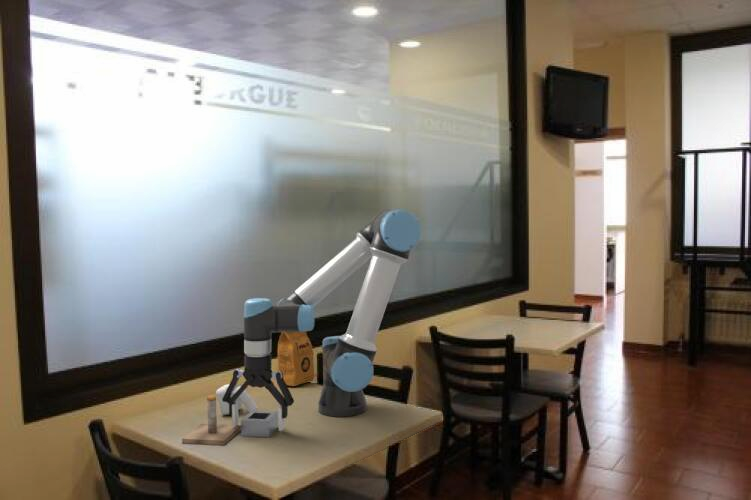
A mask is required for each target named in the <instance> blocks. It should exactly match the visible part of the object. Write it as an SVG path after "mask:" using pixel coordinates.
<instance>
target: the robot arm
mask: <svg viewBox="0 0 751 500" xmlns="http://www.w3.org/2000/svg"><path fill="white" fill-rule="evenodd" d="M421 235H422V228H421V224H420V222H419V219H418V218H417V217H416V216H415V215H414V214H413V213H412V212H410V211H407V210H405V209H400V208H396V209H386V210H382V211H381V212H378V214H376V215H375V216H374V217H373V218H371V220H369V221H368V223H366V225H364V226H363V227H362V228H361V229H360V230H359V231H358V232H357V233H356V237H355V239H353V241H351V242H350V243H348V245H347V246H345V247H344V248H343V249H341V250H340V252H338V253H337V254H336V255H335V256H333V258H332V259H330V260H329V261H328V262H327V263H326V264H324V266H322V267H321V268H320V269H319V270H317V271H316V272H315V273H314V274H313V275H311V276H310V277H309V278H308V279H307V280H305V281H304V282H303V283H302V284H301V285H299V287H297V288H296V289H295V290H294V291H293V292H291V294H288V296H286V297H284V298H282V299H280V300H279V302H277V305H273V303H272V301H271V299H269V298H263V297H262V298H261V297H255V298H249V299H247V300H246V301H245V302H244V309H243V311H244V312H243V332H244V333H243V337H244V339H243V340H244V341H243V346H244V347H243V352H244V354H245V355H244V357H243V359H244V360H243V362H244V364H243V366H244V369H243V370H241V368H236V369H235V370H234V371H233V373H232V379H231V381H230V383H228V384H229V386H228V388H227V391H226V393H225V395H224V397H223V399H222V401H223V402H227V403H229V414H228V415H230V416H231V418H232V419H231V425H232V427H233V428H235V427H236V426H237V425H240V424H239V410H238V402H235V401H236V399H237V398H238V397H239V396H240V395H241V394H242V393H243V391H244V390H246V389H247V388H248V387H249V386H250V387H251V388H259V389H261V388H263V387H264V388H265V389H266V391H267V390H268V392H269V393H270V394H271V395H272V397H273V398H274V400H276V402H277V403H278V404H279V405H280V406H279V407H278V431H279V432H282V431H283V430H284V429H285V419H287V417H288V411H289V410H288V407H290V406H292V405H293V404H294V402H295V399H294V398H293V395H292V393H291V391H290V389H289V387H288V385H286V383H285V381H284V379H283V372H282V371H279V372H278V371H275V372H273V371H272V370H273V369H272V354H271V353H272V333H282V332H304V331H306V332H311V331H313V330H314V327H315V310H314V307H315V306H317V305H318V304H319V303H320V302H321V301H323V299H325V298H326V297H327V296H329V294H330V293H332V292H333V291H334V290H335V289H336V288H338V286H340V285H341V284H342V283H343V282H344V281H345V280H347V279H348V278H349V277H351V276H352V274H354V273H355V272H356V271H357V270H358V269H359V268H360V267H362V266H363V265H364V264H366V262H367V261H369V260H370V259H371V260H370V263H369V265H368V267H367V272H366V274H365V277H364V280H363V283H362V286H361V288H360V291H359V294H358V297H357V301H356V303H355V306H354V309H353V312H352V314H351V315H352V316H351V318H350V321H349V323H348V327H347V330H346V332H345V333H344V334H342V335H334V336H326V337H325V338H323V340H322V346H321V349H322V382H323V384H322V389H321V392H320V396H319V399H318V403H317V406H318V407H317V409H318V412H319V413H320V414H322V415H324V416H329V417H338V418H340V417H341V418H344V417H352V416H356V415H360V414H362V413H364V412H365V411H366V410H367V404H368V403H367V399H366V396H365V393H364V390H363V389H366V387H367V386H368V385H369V384H370V383H371V381H372V379H373V376H374V365H373V363H374V359H375V357H376V353H377V352H378V349H377V346H376V345H375V341H376V338H377V334H378V332H379V329H380V326H381V323H382V320H383V318H384V314H385V311H386V309H387V305H388V304H389V303H388V302H389V299H390V296H391V294H392V291H393V288H394V285H395V282H396V279H397V276H398V274H399V271H400V267H401V266H402V265H403V264H404V263H406V262H408V260H409V257H410V254H411V252H412V249H413V248H414V247H416V246H417V245H418V243H419V241H420V239H421ZM242 376H243V378H244V379H245V381H244V382H243V384H242V385H240V386H241V387H240V388H239V390H238V391H237V392H236V393H235V394H234V395H233V396H232V397H230V396H231V394H232V392H233V390H234V388H235V386H236V384H237V385H238V382H239V380H240V378H241V377H242ZM272 378H273V379H274V380H275V381H276V383H277V385H278V388H279V389H280V390H279V389H278V388H277V386H275V384H274V382H273V381H272Z"/></svg>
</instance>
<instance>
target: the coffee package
mask: <svg viewBox="0 0 751 500" xmlns="http://www.w3.org/2000/svg"><path fill="white" fill-rule="evenodd" d="M280 333H281V334H280V335H279V339H278V342H277V359H276V360H277V372H279V371H282V372H283V379H284V381H285V383H286V385H287V387H288V386H289V387H296V386H299V385H304V384H307V383H310V382H312V381H313V380H314V378H315V368H314V366H315V365H314V350H313V345H312V343H311V340H310V338H309V336H308V334H307V331H304V332H280Z"/></svg>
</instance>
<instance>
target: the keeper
mask: <svg viewBox="0 0 751 500" xmlns="http://www.w3.org/2000/svg"><path fill="white" fill-rule="evenodd" d="M206 409H207V423H201V424H199V425H198V426H197V427H196V428H194V429H193V430H191V431H190V432H189V433H188V434H186V435H185V436H184V437H183V438H181V439H182V441H181V442H182V444H194V445H195V444H196V445H198V444H199V445H216V446H226V444H227V443H229V442H230V440H232V439H233V437H235V436H236V435H237V434H238V433H239V432H241V424H238V425H237V426H236V427H235V428H233V427H232V424H223V423H222V424H219V423H217V422H218V421H217V420H218V419H217V396H216V394H213V395H212V394H211V395H207V396H206Z"/></svg>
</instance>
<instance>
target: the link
mask: <svg viewBox="0 0 751 500" xmlns="http://www.w3.org/2000/svg"><path fill="white" fill-rule="evenodd" d="M240 425H241V430H240V436H241V437H255V438H270V437H271V436H272V435H273V434H274V432H275V431H276V430H277V429H279V411H263V410H262V411H261V410H255V411H251V412H249V411H248V413H247V414H246V415H245V416H244V417H243V418H242V419H240Z"/></svg>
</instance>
